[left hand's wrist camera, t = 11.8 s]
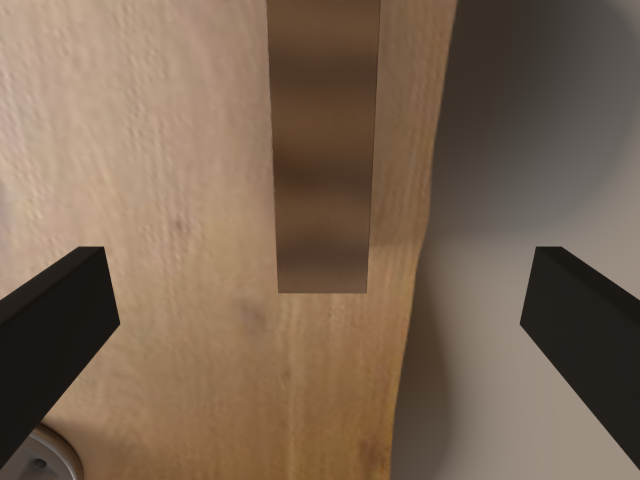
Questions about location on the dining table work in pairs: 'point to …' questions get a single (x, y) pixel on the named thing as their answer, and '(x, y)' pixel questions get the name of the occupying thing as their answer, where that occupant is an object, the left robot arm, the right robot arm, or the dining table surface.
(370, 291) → the dining table surface
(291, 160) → the beam
